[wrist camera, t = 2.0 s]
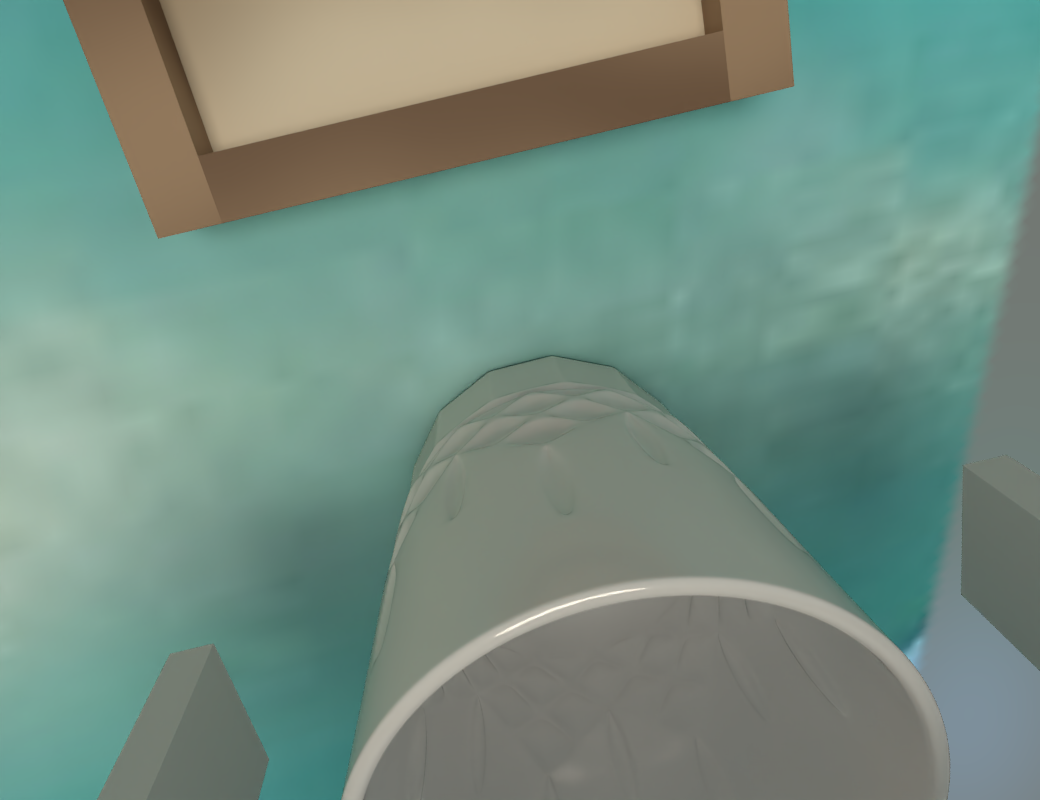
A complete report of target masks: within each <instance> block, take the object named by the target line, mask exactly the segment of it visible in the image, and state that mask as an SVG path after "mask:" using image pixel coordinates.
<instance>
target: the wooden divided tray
mask: <svg viewBox="0 0 1040 800" xmlns="http://www.w3.org/2000/svg"><path fill="white" fill-rule="evenodd" d="M63 1H64V4H65V6H66V9H67V11H68V14H69V16H70V19H71V21H72V24H73V26H74V29H75V31H76V34H77V36H78V39H79V41H80V44H81V46H82V49H83V51H84V54H85V56H86V59H87V61H88V64H89V66H90V69H91V72H92V74H93V77H94V79H95V82H96V84H97V87H98V89H99V92H100V94H101V97H102V99H103V102H104V104H105V107H106V109H107V112H108V114H109V117H110V119H111V122H112V124H113V127H114V129H115V132H116V134H117V137H118V139H119V142H120V144H121V147H122V149H123V152H124V154H125V157H126V159H127V162H128V164H129V167H130V169H131V172H132V174H133V177H134V179H135V182H136V184H137V187H138V189H139V192H140V194H141V197H142V199H143V202H144V204H145V207H146V209H147V212H148V214H149V217H150V219H151V222H152V224H153V227H154V229H155V232H156V234H157V237H158V238H163V237H167V236H171V235H175V234H179V233H183V232H188V231H192V230H196V229H200V228H204V227H209V226H213V225H217V224H221V223H225V222H229V221H234V220H238V219H242V218H246V217H250V216H254V215H259V214H263V213H267V212H271V211H275V210H279V209H284V208H288V207H292V206H296V205H300V204H305V203H309V202H313V201H317V200H321V199H325V198H330V197H334V196H338V195H342V194H346V193H350V192H355V191H359V190H363V189H367V188H371V187H375V186H380V185H384V184H388V183H392V182H396V181H400V180H405V179H409V178H413V177H417V176H421V175H426V174H430V173H434V172H438V171H442V170H446V169H451V168H455V167H459V166H463V165H467V164H471V163H476V162H480V161H484V160H488V159H492V158H496V157H501V156H505V155H509V154H513V153H517V152H522V151H526V150H530V149H534V148H538V147H542V146H547V145H551V144H555V143H559V142H563V141H567V140H572V139H576V138H580V137H584V136H588V135H592V134H597V133H601V132H605V131H609V130H613V129H618V128H622V127H626V126H630V125H634V124H638V123H643V122H647V121H651V120H655V119H659V118H663V117H668V116H672V115H676V114H680V113H684V112H688V111H693V110H697V109H701V108H705V107H709V106H713V105H718V104H722V103H726V102H730V101H734V100H739V99H743V98H747V97H751V96H755V95H759V94H764V93H768V92H772V91H776V90H780V89H784V88H789V87H793V86H794V79H793V66H792V53H791V40H790V27H789V14H788V2H787V0H63Z"/></svg>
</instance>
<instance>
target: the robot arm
mask: <svg viewBox="0 0 1040 800" xmlns="http://www.w3.org/2000/svg"><path fill="white" fill-rule="evenodd" d="M961 572H962V573H961V574H962V576H961V595H962V596H963V597H964V598H966V600H967V601H968V602H969V603H970V604H972V605H973V606H974V607H975V608H976V609H977V610H978V611H979V612H980V613H981V614H982V615H983V616H984V617H985V618H986V619H987V620H988V621H989V622H990V623H991V624H992V625H993V626H994V627H995V628H996V629H997V630H998V631H999V632H1000V633H1001V634H1002V635H1003V636H1004V637H1005V638H1006V639H1008V640H1009V641H1010V642H1011V643H1012V644H1013V645H1014V646H1015V647H1016V648H1017V649H1018V650H1019V651H1020V652H1021V653H1022V654H1023V655H1024V656H1025V657H1026V658H1027V659H1028V660H1029V661H1030V662H1031V663H1032V664H1033V665H1034V666H1035V667H1037V669H1038V670H1039V671H1040V476H1039V475H1038V474H1036V473H1034V472H1033V471H1031V470H1030V469H1028V468H1026V467H1025V466H1024V465H1022V464H1020V463H1019V462H1017V461H1016V460H1014V459H1013V458H1011V457H1009V456H1008V455H1004V456H999V457H995V458H991V459H987V460H982V461H978V462H974V463H970V464H966V465H963V497H962V571H961ZM268 761H269V758H268V756H267V754H266V752H265V750H264V748H263V745H262V743H261V741H260V739H259V737H258V735H257V733H256V731H255V729H254V727H253V725H252V723H251V720H250V718H249V716H248V714H247V712H246V710H245V708H244V706H243V704H242V702H241V700H240V698H239V695H238V693H237V691H236V689H235V687H234V685H233V683H232V681H231V679H230V677H229V675H228V672H227V670H226V668H225V666H224V664H223V662H222V660H221V658H220V656H219V654H218V652H217V650H216V647H215V645H214V644H210V645H205V646H201V647H197V648H193V649H189V650H184V651H180V652H176V653H172V654H170V655H169V657H168V659H167V661H166V663H165V665H164V667H163V669H162V671H161V673H160V675H159V677H158V679H157V681H156V683H155V685H154V687H153V689H152V691H151V693H150V695H149V697H148V699H147V701H146V703H145V705H144V707H143V709H142V711H141V713H140V715H139V717H138V719H137V721H136V723H135V725H134V727H133V729H132V731H131V733H130V735H129V737H128V739H127V741H126V743H125V745H124V747H123V749H122V751H121V753H120V755H119V757H118V759H117V761H116V763H115V765H114V767H113V769H112V771H111V773H110V775H109V777H108V779H107V781H106V783H105V785H104V787H103V789H102V791H101V793H100V795H99V797H98V799H97V800H258V798H259V794H260V791H261V787H262V783H263V780H264V776H265V772H266V768H267V765H268Z"/></svg>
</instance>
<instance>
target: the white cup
mask: <svg viewBox="0 0 1040 800" xmlns="http://www.w3.org/2000/svg"><path fill="white" fill-rule="evenodd" d="M949 755H950V754H949V746H948V739H947V734H946V730H945V726H944V723H943V719H942V716H941V713H940V711H939V708H938V706H937V703H936V701H935V699H934V697H933V695H932V693H931V691H930V689H929V687H928V685H927V684H926V682H925V681H924V679H923V677H922V676H921V674H920V673H919V672H918V670H917V669H916V668H915V666H914V665H913V664H912V663H911V661H910V660H909V659H908V658H907V657H906V655H905V654H904V653H903V652H902V651H901V650H900V649H899V648H898V647H897V646H896V645H895V644H894V643H893V642H892V641H891V640H890V639H889V637H888V636H887V635H886V634H885V633H884V632H883V631H882V630H881V629H880V628H879V627H878V626H877V625H876V624H875V623H874V622H873V621H872V619H871V618H870V617H869V616H868V615H867V614H866V613H865V612H864V611H863V610H862V609H861V608H860V607H859V606H858V605H857V604H856V603H855V601H854V600H853V599H852V598H851V597H850V596H849V595H848V594H847V593H846V592H845V591H844V590H843V589H842V588H841V587H840V586H839V584H838V583H837V582H836V581H835V580H834V579H833V578H832V577H831V576H830V575H829V574H828V573H827V572H826V571H825V569H824V568H823V567H822V566H821V565H820V564H819V563H818V562H817V561H816V560H815V559H814V558H813V557H812V555H811V554H810V553H809V552H808V551H807V550H806V549H805V548H804V547H803V546H802V545H801V544H800V543H799V541H798V540H797V539H796V538H795V537H794V536H793V535H792V534H791V533H790V532H789V531H788V530H787V529H786V527H785V526H784V525H783V524H782V523H781V522H780V521H779V520H778V519H777V518H776V517H775V516H774V515H773V513H772V512H771V511H770V510H769V509H768V508H767V507H766V506H765V505H764V504H763V503H762V502H761V500H760V499H759V498H758V497H757V496H756V495H755V494H754V493H753V492H752V491H751V490H750V489H749V488H748V487H747V486H746V485H745V484H744V483H743V482H742V481H741V480H740V479H738V478H737V477H736V476H735V474H734V473H733V472H732V471H731V470H730V469H729V468H728V467H727V466H726V465H725V464H724V463H723V462H722V461H721V460H720V459H719V458H717V457H716V456H715V454H714V453H713V452H712V451H711V450H710V449H709V448H708V447H707V446H706V445H705V444H704V443H703V442H702V441H701V440H700V439H699V438H698V437H697V436H696V435H695V434H694V433H693V432H692V431H691V430H689V429H688V428H687V427H686V426H685V425H684V424H683V423H682V422H680V421H679V420H678V419H677V418H675V417H673V416H672V415H671V414H670V412H669V411H668V410H667V409H666V408H665V407H664V406H663V405H662V404H661V403H660V402H659V401H658V400H656V399H655V398H654V397H652V396H651V395H650V394H648V393H647V392H646V391H644V390H643V389H642V388H640V387H639V386H638V385H636V384H635V383H634V382H632V381H631V380H630V379H628V378H627V377H626V376H625V375H623V374H622V373H621V372H619V371H618V370H617V369H615V368H614V367H609V366H604V365H598V364H593V363H588V362H582V361H577V360H571V359H566V358H561V357H555V356H549V357H545V358H541V359H537V360H533V361H529V362H525V363H521V364H517V365H513V366H509V367H506V368H502V369H498V370H494V371H490V372H488V373H487V374H485V375H484V376H483V377H482V378H480V379H479V380H478V381H477V382H475V383H474V384H473V385H472V386H471V387H469V388H468V389H467V390H466V391H464V392H463V393H462V394H461V395H459V396H458V397H457V398H456V399H454V400H453V401H452V402H451V403H449V404H448V405H447V406H446V407H444V408H443V409H442V410H441V411H440V412H439V414H438V416H437V418H436V420H435V422H434V424H433V427H432V429H431V431H430V433H429V435H428V437H427V439H426V442H425V444H424V446H423V448H422V450H421V452H420V455H419V457H418V459H417V461H416V463H415V466H414V470H413V475H412V481H411V487H410V491H409V494H408V497H407V500H406V503H405V506H404V509H403V512H402V516H401V520H400V523H399V527H398V531H397V535H396V540H395V547H394V551H393V555H392V559H391V562H390V566H389V570H388V574H387V577H386V581H385V585H384V590H383V595H382V599H381V604H380V610H379V615H378V620H377V625H376V630H375V635H374V640H373V645H372V650H371V655H370V661H369V666H368V671H367V676H366V681H365V686H364V691H363V696H362V701H361V706H360V711H359V716H358V720H357V725H356V730H355V735H354V740H353V745H352V749H351V754H350V759H349V764H348V769H347V774H346V778H345V783H344V788H343V793H342V797H341V800H947V798H948V792H949V783H950V756H949Z"/></svg>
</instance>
